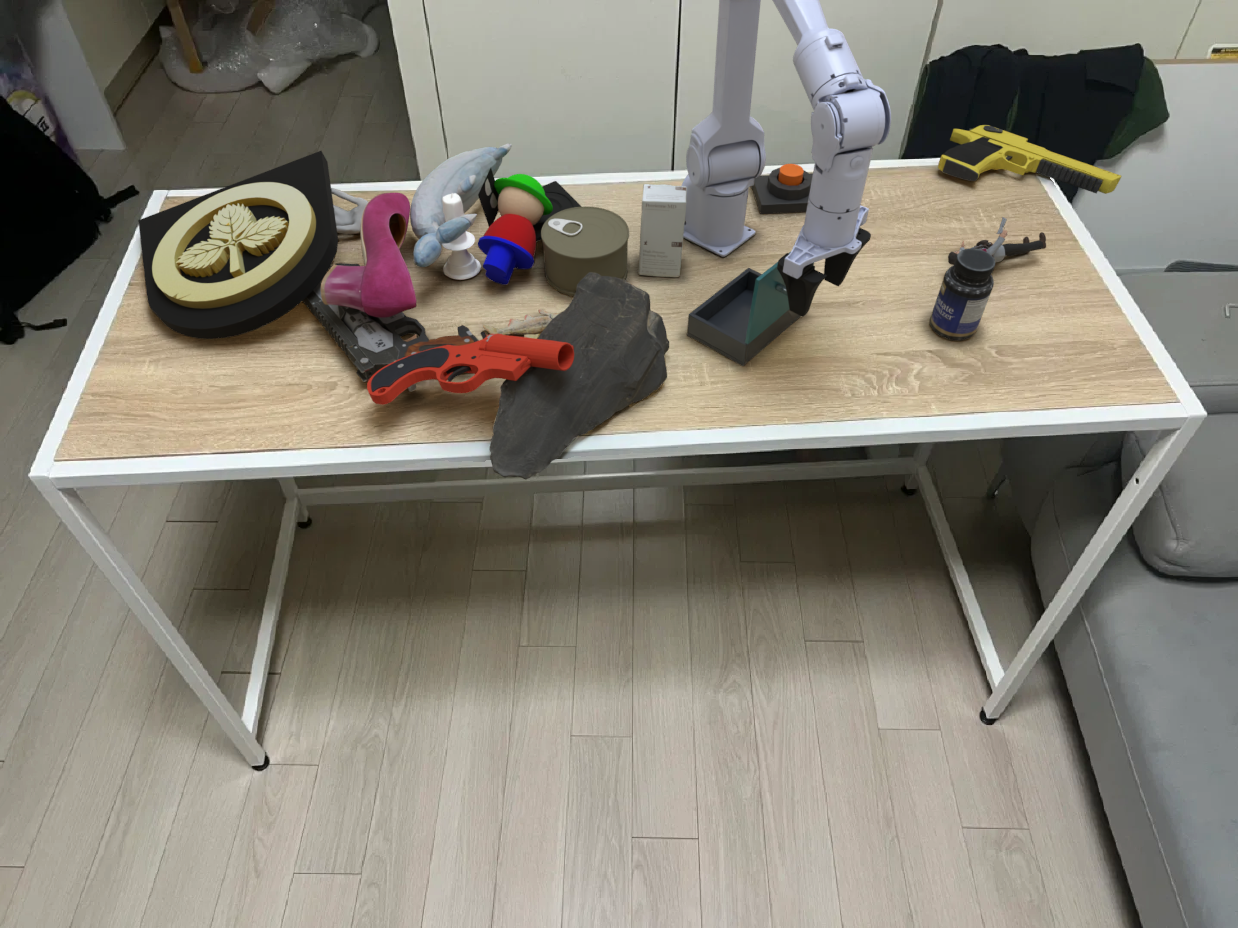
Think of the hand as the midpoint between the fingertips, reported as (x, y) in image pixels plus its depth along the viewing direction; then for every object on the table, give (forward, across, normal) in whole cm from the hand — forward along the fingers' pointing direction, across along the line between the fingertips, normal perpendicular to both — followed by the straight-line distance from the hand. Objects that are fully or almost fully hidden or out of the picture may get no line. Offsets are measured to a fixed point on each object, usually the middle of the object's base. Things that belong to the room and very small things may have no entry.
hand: (815, 296), depth 113 cm
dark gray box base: (+10, 0, +9) cm, 14 cm away
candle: (+10, -17, +47) cm, 51 cm away
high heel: (+3, -28, +54) cm, 61 cm away
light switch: (+8, -8, +46) cm, 47 cm away
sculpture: (-1, -20, +41) cm, 45 cm away
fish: (+9, -18, +32) cm, 38 cm away
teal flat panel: (+1, 0, +5) cm, 5 cm away
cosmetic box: (+10, +2, +26) cm, 28 cm away
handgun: (+8, +50, -3) cm, 51 cm away
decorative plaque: (+6, -46, +55) cm, 72 cm away
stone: (+5, -12, +18) cm, 22 cm away
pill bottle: (+10, +18, -12) cm, 24 cm away
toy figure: (+7, -17, +40) cm, 44 cm away
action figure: (+7, +40, -12) cm, 43 cm away
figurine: (+7, -29, +78) cm, 83 cm away
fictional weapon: (+8, -24, +43) cm, 50 cm away
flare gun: (+2, -43, +23) cm, 49 cm away
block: (+10, +29, +22) cm, 38 cm away
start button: (+7, +29, +22) cm, 37 cm away
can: (+10, -5, +33) cm, 35 cm away
